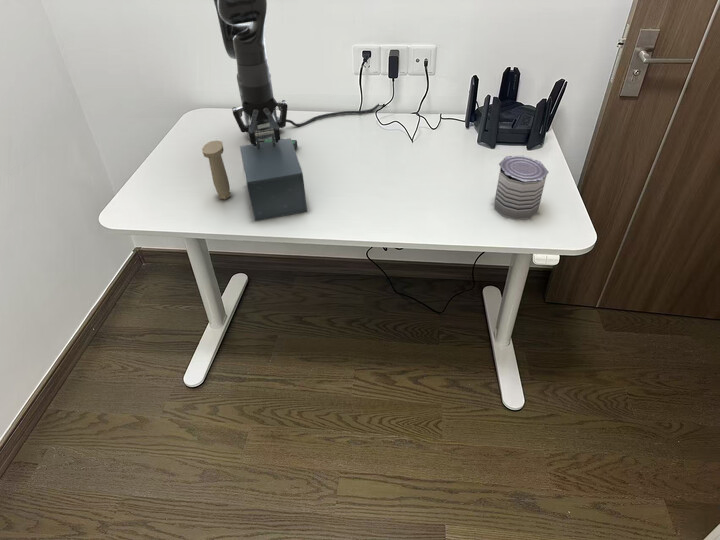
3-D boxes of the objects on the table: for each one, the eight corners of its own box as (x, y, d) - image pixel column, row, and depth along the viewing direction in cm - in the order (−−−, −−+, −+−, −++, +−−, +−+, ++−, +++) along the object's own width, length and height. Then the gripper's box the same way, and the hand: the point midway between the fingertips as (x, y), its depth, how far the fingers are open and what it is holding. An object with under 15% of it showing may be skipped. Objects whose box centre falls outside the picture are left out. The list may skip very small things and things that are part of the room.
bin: (248, 186, 146) (240, 151, 138) (296, 178, 148) (291, 143, 141) (254, 221, 134) (247, 185, 126) (307, 211, 136) (302, 175, 129)
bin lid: (240, 148, 139) (236, 130, 135) (291, 140, 141) (288, 122, 137) (247, 184, 126) (243, 165, 123) (302, 175, 129) (300, 156, 125)
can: (501, 190, 140) (508, 150, 132) (544, 201, 136) (554, 160, 128) (486, 212, 133) (493, 171, 125) (530, 225, 129) (540, 183, 121)
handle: (236, 190, 144) (225, 141, 134) (229, 203, 140) (217, 153, 130) (219, 189, 145) (207, 140, 135) (212, 203, 140) (199, 153, 130)
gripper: (282, 69, 129) (290, 132, 141) (223, 77, 127) (236, 140, 138) (287, 81, 124) (295, 145, 136) (226, 89, 122) (239, 154, 133)
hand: (265, 142), depth 137 cm, fingers closed on bin lid, 5 cm apart
